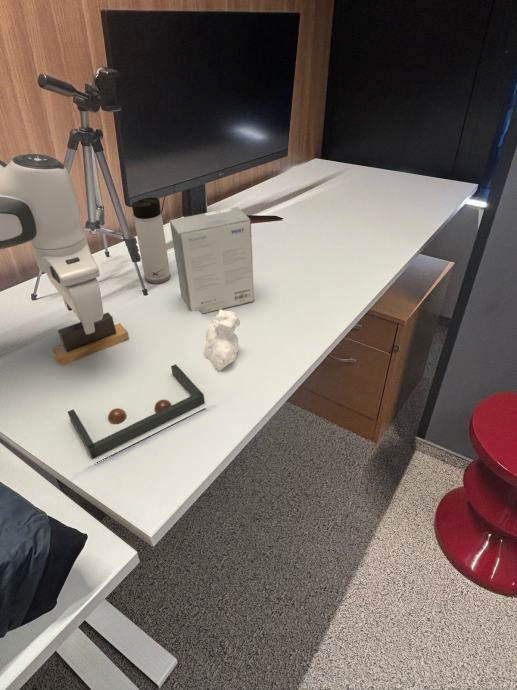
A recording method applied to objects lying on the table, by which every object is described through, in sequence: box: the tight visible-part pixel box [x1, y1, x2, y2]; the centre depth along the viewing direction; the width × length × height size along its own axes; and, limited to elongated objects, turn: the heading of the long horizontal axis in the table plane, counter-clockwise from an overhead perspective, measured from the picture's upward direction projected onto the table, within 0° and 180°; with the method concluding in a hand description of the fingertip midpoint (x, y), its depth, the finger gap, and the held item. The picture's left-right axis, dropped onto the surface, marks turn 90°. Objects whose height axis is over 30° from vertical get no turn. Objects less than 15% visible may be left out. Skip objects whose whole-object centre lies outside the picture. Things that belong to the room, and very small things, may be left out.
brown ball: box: [153, 399, 173, 414], centre depth 82 cm, size 3×3×3 cm
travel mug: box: [131, 197, 171, 285], centre depth 113 cm, size 6×7×20 cm
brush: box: [51, 312, 130, 367], centre depth 94 cm, size 14×4×7 cm, turn 126°
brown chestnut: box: [107, 407, 128, 425], centre depth 80 cm, size 3×3×3 cm
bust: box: [203, 309, 241, 372], centre depth 92 cm, size 12×8×11 cm
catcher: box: [67, 363, 206, 465], centre depth 81 cm, size 20×10×4 cm, turn 126°
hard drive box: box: [168, 206, 255, 315], centre depth 104 cm, size 16×8×20 cm, turn 113°
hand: (80, 319), depth 91 cm, fingers open, 8 cm apart
